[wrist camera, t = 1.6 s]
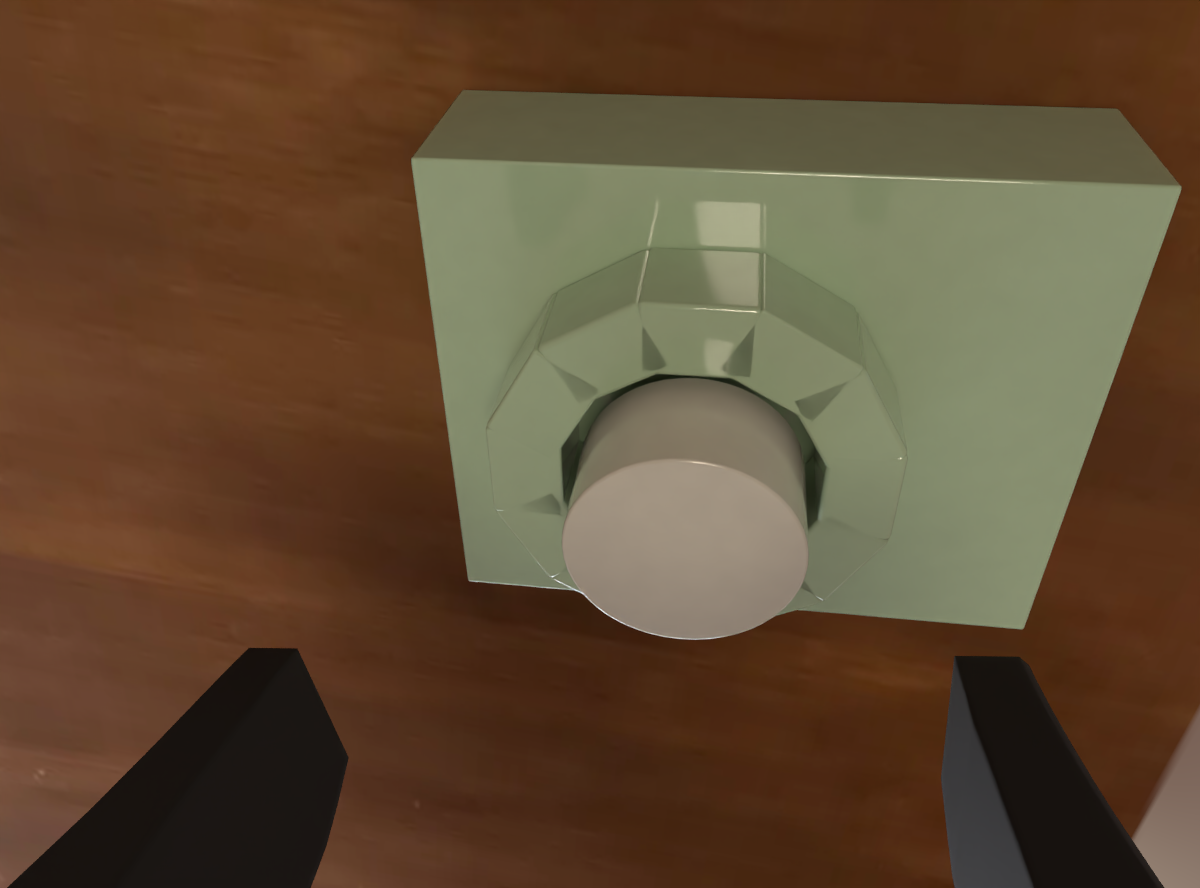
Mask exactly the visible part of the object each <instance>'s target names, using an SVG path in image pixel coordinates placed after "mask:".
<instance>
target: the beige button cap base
mask: <svg viewBox="0 0 1200 888" xmlns="http://www.w3.org/2000/svg"><path fill="white" fill-rule="evenodd" d="M411 164H412V172H413V179H414V186H415V194H416V201H417V208H418V216H419V223H420V230H421V238H422V245H423V252H424V260H425V267H426V274H427V282H428V289H429V297H430V304H431V311H432V319H433V326H434V333H435V341H436V348H437V355H438V363H439V370H440V377H441V385H442V392H443V399H444V407H445V414H446V421H447V429H448V436H449V443H450V451H451V458H452V465H453V473H454V480H455V488H456V495H457V502H458V510H459V517H460V524H461V532H462V539H463V546H464V554H465V561H466V568H467V576H468V580H469V581H473V582H484V583H496V584H507V585H519V586H530V587H542V588H553V589H565V590H575V591H577V592H579V593H581V594H583V593H582V592H581V591H580V590H579V588H578V587H577V586H576V584H575V583H574V581H573V580H572V578H571V576H570V574H569V572H568V570H567V567H566V564H565V560H564V557H563V551H562V531H563V526H564V522H565V518H566V513H567V509H568V505H569V501H570V497H571V493H572V489H573V485H574V481H575V476H576V472H577V468H578V464H579V460H580V456H581V452H582V448H583V443H584V440H585V437H586V435H587V432H588V430H589V428H590V427H591V425H592V423H593V422H594V420H595V419H596V418H597V416H598V415H599V414H600V413H601V412H602V411H603V410H604V409H605V408H606V407H607V406H608V405H609V404H610V403H611V402H613V401H614V400H616V399H617V398H619V397H620V396H622V395H623V394H625V393H627V392H629V391H631V390H633V389H635V388H637V387H639V386H642V385H645V384H648V383H651V382H656V381H660V380H665V379H673V378H702V379H711V380H716V381H720V382H724V383H728V384H731V385H734V386H737V387H739V388H742V389H744V390H746V391H748V392H750V393H752V394H754V395H756V396H758V397H759V398H761V399H762V400H764V401H765V402H767V403H768V404H769V405H771V406H772V407H773V408H774V409H775V410H777V411H778V412H779V413H780V415H781V416H782V417H783V418H784V419H785V420H786V421H787V422H788V424H789V425H790V427H791V428H792V430H793V431H794V432H795V434H796V436H797V438H798V441H799V443H800V445H801V448H802V452H803V455H804V463H805V477H806V498H807V520H808V542H809V561H808V568H807V572H806V576H805V579H804V581H803V583H802V585H801V587H800V589H799V591H798V592H797V594H796V595H795V597H794V598H793V599H792V601H791V602H790V603H789V604H788V605H787V606H786V607H785V608H784V609H783V610H782V611H780V612H779V613H778V614H777V615H781V614H784V613H787V612H791V611H794V610H806V611H817V612H828V613H840V614H851V615H863V616H874V617H886V618H897V619H909V620H920V621H932V622H943V623H955V624H966V625H978V626H989V627H1001V628H1012V629H1023V628H1024V626H1025V623H1026V621H1027V618H1028V615H1029V612H1030V610H1031V607H1032V604H1033V601H1034V598H1035V596H1036V593H1037V590H1038V587H1039V584H1040V582H1041V579H1042V576H1043V573H1044V571H1045V568H1046V565H1047V562H1048V559H1049V557H1050V554H1051V551H1052V548H1053V546H1054V543H1055V540H1056V537H1057V534H1058V532H1059V529H1060V526H1061V523H1062V520H1063V518H1064V515H1065V512H1066V509H1067V507H1068V504H1069V501H1070V498H1071V495H1072V493H1073V490H1074V487H1075V484H1076V482H1077V479H1078V476H1079V473H1080V470H1081V468H1082V465H1083V462H1084V459H1085V456H1086V454H1087V451H1088V448H1089V445H1090V443H1091V440H1092V437H1093V434H1094V431H1095V429H1096V426H1097V423H1098V420H1099V418H1100V415H1101V412H1102V409H1103V406H1104V404H1105V401H1106V398H1107V395H1108V392H1109V390H1110V387H1111V384H1112V381H1113V379H1114V376H1115V373H1116V370H1117V367H1118V365H1119V362H1120V359H1121V356H1122V354H1123V351H1124V348H1125V345H1126V342H1127V340H1128V337H1129V334H1130V331H1131V328H1132V326H1133V323H1134V320H1135V317H1136V315H1137V312H1138V309H1139V306H1140V303H1141V301H1142V298H1143V295H1144V292H1145V290H1146V287H1147V284H1148V281H1149V278H1150V276H1151V273H1152V270H1153V267H1154V264H1155V262H1156V259H1157V256H1158V253H1159V251H1160V248H1161V245H1162V242H1163V239H1164V237H1165V234H1166V231H1167V228H1168V226H1169V223H1170V220H1171V217H1172V214H1173V212H1174V209H1175V206H1176V203H1177V200H1178V198H1179V195H1180V192H1181V189H1182V187H1181V185H1180V184H1179V182H1178V181H1177V180H1176V179H1175V178H1174V176H1173V175H1172V174H1171V173H1170V171H1169V170H1168V169H1167V168H1166V167H1165V165H1164V164H1163V163H1162V162H1161V160H1160V159H1159V158H1158V157H1157V156H1156V154H1155V153H1154V152H1153V151H1152V149H1151V148H1150V147H1149V146H1148V144H1147V143H1146V142H1145V141H1144V140H1143V138H1142V137H1141V136H1140V135H1139V133H1138V132H1137V131H1136V130H1135V129H1134V127H1133V126H1132V125H1131V124H1130V122H1129V121H1128V120H1127V119H1126V117H1125V116H1124V115H1123V114H1122V113H1121V111H1120V110H1119V109H1108V108H1073V107H1038V106H1002V105H967V104H932V103H897V102H862V101H827V100H792V99H757V98H722V97H687V96H652V95H617V94H582V93H547V92H512V91H477V90H463V91H461V92H460V94H459V95H458V96H457V98H456V99H455V100H454V102H453V103H452V104H451V106H450V107H449V108H448V110H447V111H446V112H445V114H444V115H443V116H442V118H441V119H440V120H439V122H438V123H437V124H436V126H435V127H434V128H433V130H432V131H431V132H430V134H429V135H428V136H427V138H426V139H425V140H424V142H423V143H422V144H421V146H420V147H419V148H418V150H417V151H416V152H415V154H414V155H413V156H412V158H411ZM583 595H584V594H583ZM777 615H776V616H777Z"/></svg>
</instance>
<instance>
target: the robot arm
mask: <svg viewBox="0 0 1200 888" xmlns="http://www.w3.org/2000/svg"><path fill="white" fill-rule="evenodd" d="M347 762H348V756H347V753H346V751H345V749H344V747H343V745H342V743H341V741H340V739H339V736H338V734H337V732H336V730H335V728H334V726H333V724H332V722H331V719H330V717H329V715H328V713H327V711H326V709H325V707H324V705H323V702H322V700H321V698H320V696H319V694H318V692H317V690H316V688H315V685H314V683H313V681H312V679H311V677H310V675H309V673H308V671H307V668H306V666H305V664H304V662H303V660H302V658H301V656H300V653H299V651H298V649H290V648H249V649H248V650H247V651H246V652H244V653H243V654H242V655H241V656H240V657H239V658H238V659H237V660H236V661H235V662H234V663H233V664H232V665H231V666H230V667H229V668H228V669H227V670H226V671H225V672H224V673H223V674H222V675H221V676H220V678H219V679H218V680H217V681H216V682H215V683H214V684H213V685H212V686H211V687H210V688H209V689H208V690H207V691H206V692H205V693H204V694H203V695H202V696H201V697H200V698H199V699H198V700H197V701H196V702H195V703H194V704H193V705H192V706H191V708H190V709H189V710H188V711H187V712H186V713H185V714H184V715H183V716H182V717H181V718H180V719H179V720H178V721H177V722H176V723H175V724H174V725H173V726H172V727H171V728H170V729H169V730H168V731H167V732H166V733H165V734H164V736H163V737H162V738H161V739H160V740H159V741H158V742H157V743H156V744H155V745H154V746H153V747H152V748H151V749H150V750H149V751H148V752H147V753H146V754H145V755H144V756H143V757H142V758H141V759H140V760H139V761H138V762H137V763H136V764H135V765H134V766H133V767H132V768H131V769H130V770H129V771H128V772H127V773H126V774H125V775H124V776H123V777H122V778H121V779H120V780H119V781H118V782H117V783H116V784H115V785H114V786H113V787H112V788H111V789H110V790H109V791H108V792H107V793H106V794H105V795H104V796H103V797H102V798H101V799H100V800H99V801H98V802H97V803H96V804H95V805H94V806H93V807H92V808H91V809H90V810H89V811H88V812H87V813H86V814H85V815H84V816H83V817H82V818H81V819H80V820H79V821H78V822H77V823H75V824H74V825H73V826H72V827H71V828H70V829H69V830H68V831H67V832H66V833H65V834H64V835H63V836H62V837H61V838H60V839H58V840H57V841H56V842H55V843H54V844H53V845H52V846H51V847H50V848H49V849H48V850H47V851H46V852H45V853H44V854H43V855H41V856H40V857H39V858H38V859H37V860H36V861H35V862H34V863H33V864H32V865H31V866H30V867H29V868H28V869H27V870H26V871H24V872H23V873H22V874H21V875H20V876H19V877H18V878H17V879H16V880H15V881H14V882H13V883H12V884H11V885H10V886H9V887H7V888H311V885H312V883H313V880H314V877H315V875H316V872H317V869H318V867H319V864H320V861H321V859H322V856H323V853H324V851H325V848H326V845H327V842H328V838H329V834H330V830H331V827H332V823H333V819H334V815H335V812H336V808H337V804H338V800H339V796H340V791H341V787H342V783H343V779H344V774H345V770H346V766H347ZM941 781H942V790H943V799H944V808H945V817H946V826H947V835H948V843H949V851H950V860H951V868H952V876H953V881H954V886H955V888H1164V887H1163V885H1162V884H1161V882H1160V881H1159V880H1158V878H1157V876H1156V875H1155V873H1154V872H1153V870H1152V869H1151V868H1150V866H1149V865H1148V863H1147V862H1146V860H1145V859H1144V857H1143V856H1142V854H1141V853H1140V851H1139V850H1138V848H1137V847H1136V845H1135V844H1134V842H1133V841H1132V839H1131V838H1130V836H1129V835H1128V833H1127V832H1126V830H1125V829H1124V827H1123V826H1122V824H1121V823H1120V821H1119V820H1118V818H1117V817H1116V815H1115V814H1114V812H1113V811H1112V809H1111V808H1110V806H1109V804H1108V803H1107V801H1106V800H1105V798H1104V797H1103V795H1102V793H1101V792H1100V790H1099V789H1098V787H1097V785H1096V784H1095V782H1094V781H1093V779H1092V777H1091V776H1090V774H1089V772H1088V771H1087V769H1086V767H1085V766H1084V764H1083V762H1082V761H1081V759H1080V757H1079V756H1078V754H1077V752H1076V751H1075V749H1074V748H1073V746H1072V744H1071V742H1070V741H1069V739H1068V737H1067V735H1066V734H1065V732H1064V730H1063V729H1062V727H1061V725H1060V723H1059V721H1058V720H1057V718H1056V716H1055V714H1054V713H1053V711H1052V709H1051V707H1050V705H1049V703H1048V701H1047V700H1046V698H1045V696H1044V694H1043V692H1042V690H1041V688H1040V686H1039V684H1038V683H1037V681H1036V679H1035V677H1034V675H1033V673H1032V670H1031V668H1030V666H1029V665H1028V664H1027V663H1026V662H1024V661H1023V660H1022V659H1021V658H1020V657H990V656H955V657H954V666H953V675H952V684H951V693H950V702H949V711H948V720H947V729H946V738H945V747H944V756H943V765H942V775H941Z"/></svg>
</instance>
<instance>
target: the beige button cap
mask: <svg viewBox="0 0 1200 888" xmlns="http://www.w3.org/2000/svg"><path fill="white" fill-rule="evenodd" d="M562 551H563V557H564V560H565V564H566V567H567V570H568V572H569V574H570V576H571V578H572V580H573V581H574V583H575V584H576V586H577V587H578V588H579V590H580V591H581V592H582V593H583V594H584V596H585V597H586V598H587V599H588V600H589V601H590V602H591V603H593V604H594V605H595V606H596V607H597V608H598V609H600V610H601V611H603V612H604V613H605V614H607V615H608V616H610V617H612V618H613V619H615V620H617V621H619V622H621V623H622V624H625V625H627V626H629V627H632V628H634V629H637V630H640V631H643V632H646V633H649V634H653V635H658V636H662V637H668V638H675V639H690V640H699V639H713V638H721V637H726V636H730V635H735V634H738V633H741V632H744V631H747V630H750V629H752V628H755V627H757V626H759V625H761V624H763V623H765V622H766V621H768V620H769V619H771V618H773V617H774V616H776V615H777V614H778V613H779V612H780V611H782V610H783V609H784V608H785V607H786V606H787V605H788V604H789V603H790V602H791V601H792V599H793V598H794V597H795V595H796V594H797V592H798V591H799V589H800V587H801V585H802V583H803V581H804V579H805V576H806V572H807V568H808V561H809V542H808V520H807V498H806V477H805V463H804V455H803V452H802V448H801V445H800V443H799V441H798V438H797V436H796V434H795V432H794V431H793V430H792V428H791V427H790V425H789V424H788V422H787V421H786V420H785V419H784V418H783V417H782V416H781V415H780V413H779V412H778V411H777V410H775V409H774V408H773V407H772V406H771V405H769V404H768V403H767V402H765V401H764V400H762V399H761V398H759V397H758V396H756V395H754V394H752V393H750V392H748V391H746V390H744V389H742V388H739V387H737V386H734V385H731V384H728V383H724V382H720V381H716V380H711V379H702V378H673V379H665V380H660V381H656V382H651V383H648V384H645V385H642V386H639V387H637V388H635V389H633V390H631V391H629V392H627V393H625V394H623V395H622V396H620V397H619V398H617V399H616V400H614V401H613V402H611V403H610V404H609V405H608V406H607V407H606V408H605V409H604V410H603V411H602V412H601V413H600V414H599V415H598V416H597V418H596V419H595V420H594V422H593V423H592V425H591V427H590V428H589V430H588V432H587V435H586V437H585V440H584V443H583V448H582V452H581V456H580V460H579V464H578V468H577V472H576V476H575V481H574V485H573V489H572V493H571V497H570V501H569V505H568V509H567V513H566V518H565V522H564V526H563V531H562Z"/></svg>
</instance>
